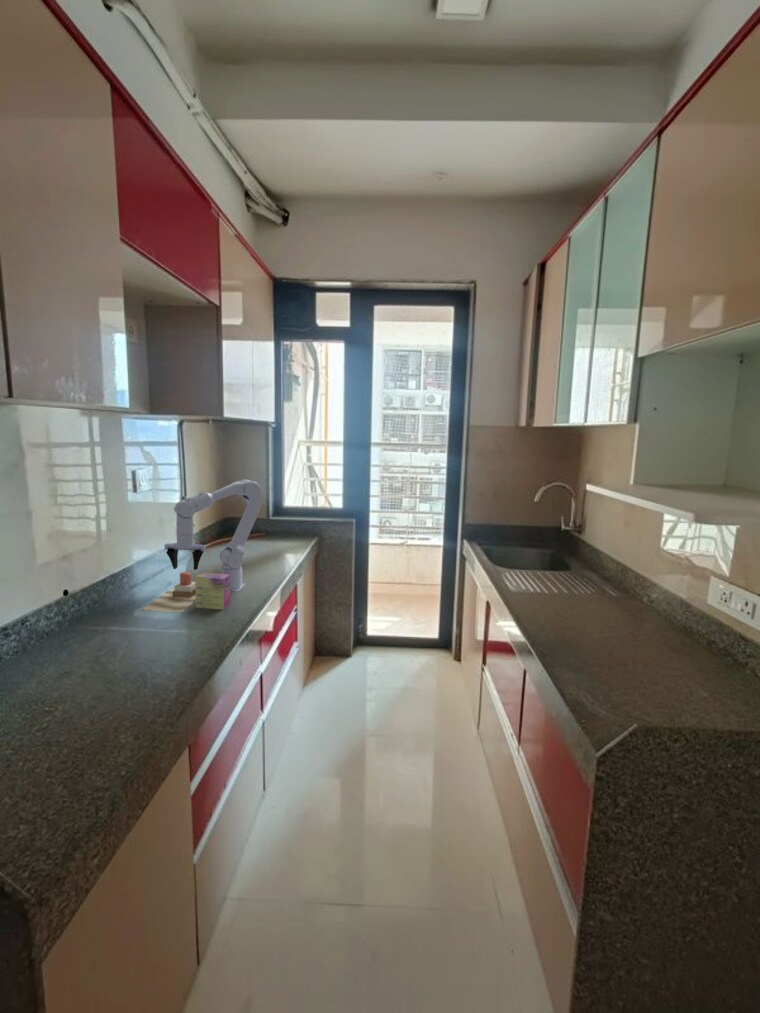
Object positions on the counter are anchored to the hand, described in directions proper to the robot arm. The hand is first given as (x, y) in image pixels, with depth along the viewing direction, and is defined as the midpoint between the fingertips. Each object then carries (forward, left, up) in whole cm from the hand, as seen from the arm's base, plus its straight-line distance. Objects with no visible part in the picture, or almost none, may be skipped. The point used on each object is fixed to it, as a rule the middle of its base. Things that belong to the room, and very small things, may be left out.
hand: (185, 568), depth 176 cm
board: (+6, -1, -10) cm, 12 cm away
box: (+11, +14, -11) cm, 21 cm away
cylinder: (0, 0, -6) cm, 6 cm away
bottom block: (0, 0, -10) cm, 10 cm away
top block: (0, 0, -8) cm, 8 cm away
